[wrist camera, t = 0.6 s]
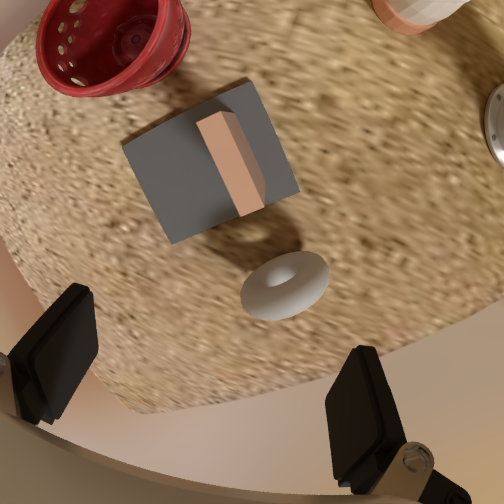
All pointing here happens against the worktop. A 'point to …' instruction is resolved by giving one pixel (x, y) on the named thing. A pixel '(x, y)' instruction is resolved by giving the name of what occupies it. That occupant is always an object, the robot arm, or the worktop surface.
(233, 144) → the tile
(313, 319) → the worktop surface
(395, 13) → the pepper shaker
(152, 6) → the plant pot
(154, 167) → the mat
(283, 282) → the donut
